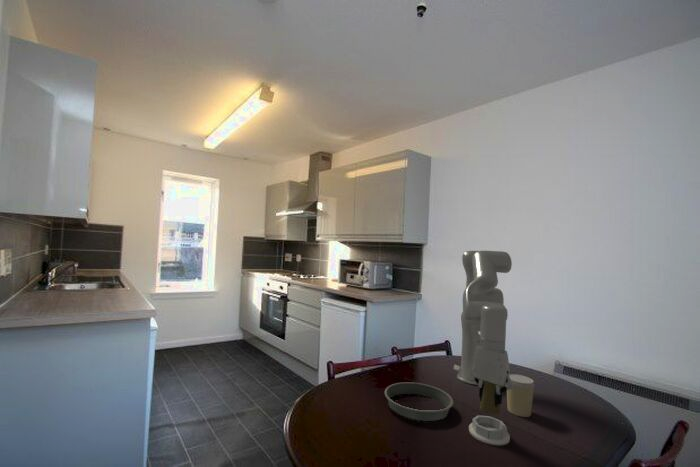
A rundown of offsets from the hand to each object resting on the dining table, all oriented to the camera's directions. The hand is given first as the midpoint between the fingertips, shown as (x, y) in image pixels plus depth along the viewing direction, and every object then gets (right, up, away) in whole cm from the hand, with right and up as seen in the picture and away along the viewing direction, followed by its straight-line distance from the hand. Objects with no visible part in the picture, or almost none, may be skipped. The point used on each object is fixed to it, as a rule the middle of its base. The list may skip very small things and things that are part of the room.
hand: (490, 402), depth 106 cm
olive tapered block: (0, -2, 0) cm, 2 cm away
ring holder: (-1, -10, 0) cm, 10 cm away
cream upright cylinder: (+18, -12, +17) cm, 27 cm away
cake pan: (-20, -10, +16) cm, 27 cm away
